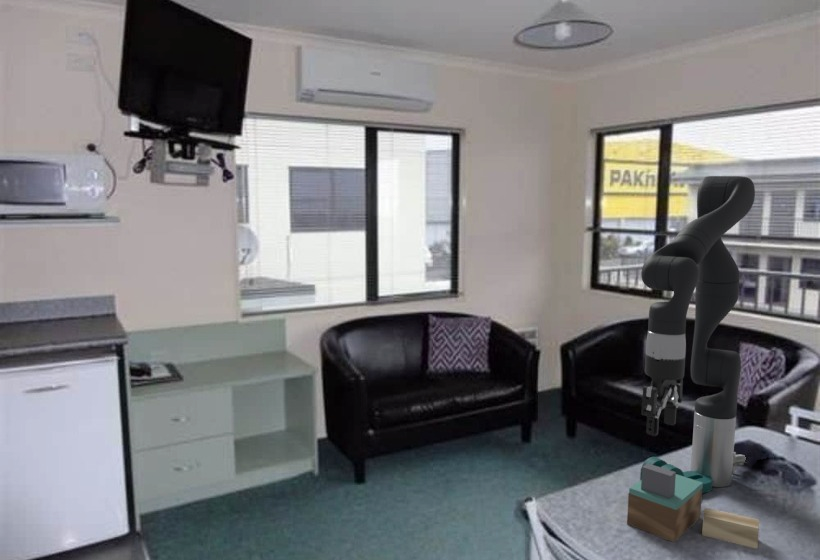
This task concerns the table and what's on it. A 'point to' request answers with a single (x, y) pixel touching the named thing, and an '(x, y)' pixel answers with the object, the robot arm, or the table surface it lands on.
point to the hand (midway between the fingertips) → (661, 429)
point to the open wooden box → (663, 516)
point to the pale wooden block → (730, 527)
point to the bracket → (681, 473)
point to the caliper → (737, 461)
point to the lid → (665, 487)
